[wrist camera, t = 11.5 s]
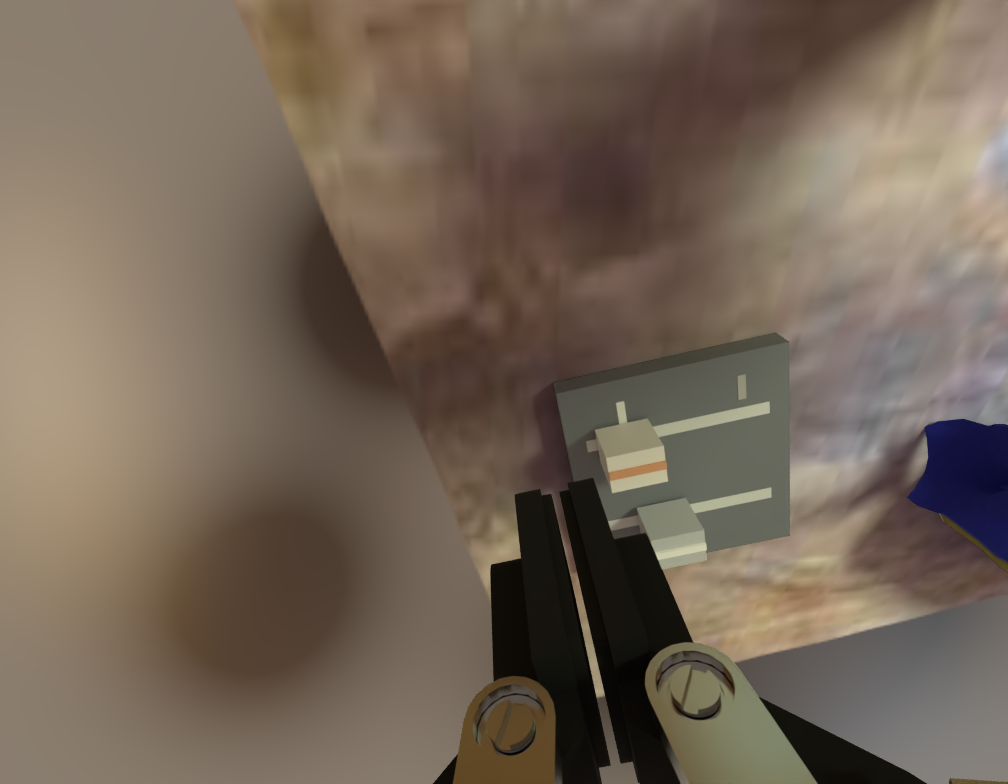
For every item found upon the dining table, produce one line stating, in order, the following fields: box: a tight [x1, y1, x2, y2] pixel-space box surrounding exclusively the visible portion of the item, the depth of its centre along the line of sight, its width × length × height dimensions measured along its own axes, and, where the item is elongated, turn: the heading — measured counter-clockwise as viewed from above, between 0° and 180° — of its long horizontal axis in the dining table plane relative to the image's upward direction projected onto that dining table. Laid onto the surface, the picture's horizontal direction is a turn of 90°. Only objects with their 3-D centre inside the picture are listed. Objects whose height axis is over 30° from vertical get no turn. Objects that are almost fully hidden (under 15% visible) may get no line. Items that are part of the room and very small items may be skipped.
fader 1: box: [595, 418, 668, 493], centre depth 40 cm, size 4×3×4 cm
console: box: [553, 333, 790, 553], centre depth 44 cm, size 17×18×2 cm
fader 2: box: [637, 498, 707, 569], centre depth 43 cm, size 4×3×4 cm
